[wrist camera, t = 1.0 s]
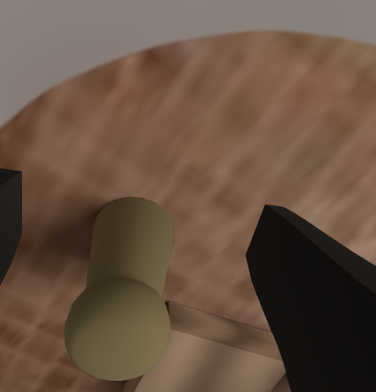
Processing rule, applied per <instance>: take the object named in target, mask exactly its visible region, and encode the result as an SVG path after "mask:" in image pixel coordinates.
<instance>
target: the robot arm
mask: <svg viewBox="0 0 376 392" xmlns="http://www.w3.org/2000/svg"><path fill="white" fill-rule="evenodd" d="M21 234H22V171H16V170H8V169H1V168H0V284H1V282H2V281H3V279H4V277H5V275H6V273H7V271H8V269H9V267H10V265H11V263H12V260H13V257H14V254H15V252H16V249H17V246H18V243H19V240H20V237H21ZM246 259H247V263H248V268H249V272H250V276H251V280H252V283H253V286H254V289H255V291H256V294H257V296H258V299H259V301H260V304H261V307H262V309H263V311H264V314H265V316H266V319H267V321H268V324H269V326H270V329H271V331H272V334H273V336H274V339H275V341H276V344H277V346H278V349H279V352H280V355H281V358H282V361H283V364H284V368H285V371H286V375H287V378H288V382H289V385H290V389H291V392H376V266H375V265H373V264H372V263H370V262H368V261H367V260H365V259H364V258H362V257H360V256H359V255H357V254H356V253H354V252H352V251H351V250H349V249H348V248H346V247H345V246H343V245H342V244H340V243H339V242H337V241H336V240H334V239H333V238H331V237H330V236H328V235H327V234H325V233H324V232H322V231H321V230H319V229H318V228H316V227H315V226H313V225H312V224H311V223H309V222H308V221H306V220H305V219H303V218H302V217H300V216H298V215H297V214H295V213H294V212H292V211H290V210H288V209H286V208H284V207H281V206H274V205H266V204H265V206H264V209H263V211H262V214H261V216H260V219H259V222H258V224H257V227H256V229H255V232H254V235H253V237H252V240H251V242H250V245H249V247H248V250H247V253H246Z"/></svg>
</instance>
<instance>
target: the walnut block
mask: <svg viewBox="0 0 376 392" xmlns="http://www.w3.org/2000/svg"><path fill="white" fill-rule="evenodd" d="M166 308H167V311H168V314H169V317H170V336H169V342H168V345H167V348H166V350H165V352H164V354H163V356H162V357H161V359H160V360H159V361H158V363H157V364H156V365H155V366H154V367H153V368H152V369H150V370H149V371H148V372H147V373H145V374H143V375H141V376H139V377H137V378H133V379H128V380H126V382H125V384H124V387H123V392H271V390H272V389H273V388H274V387H275V385H276V384H277V383H278V382H279V380H280V379H281V378H282V377H283V375H284V374H285V373H286V371H285V368H284V364H283V361H282V358H281V355H280V352H279V349H278V346H277V344H276V341H275V339H274V336H273V334H272V333H271V332H268V331H264V330H261V329H258V328H255V327H251V326H248V325H245V324H242V323H238V322H235V321H232V320H229V319H226V318H222V317H219V316H216V315H213V314H209V313H206V312H203V311H200V310H196V309H193V308H190V307H187V306H183V305H180V304H177V303H174V302H171V301H169V302H168V304H167V306H166Z"/></svg>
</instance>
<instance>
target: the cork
mask: <svg viewBox="0 0 376 392" xmlns="http://www.w3.org/2000/svg"><path fill="white" fill-rule="evenodd" d="M173 239H174V227H173V224H172V220H171V218H170V217H169V215H168V214H167V213H166V211H165V210H164V209H163V208H161V207H160V206H159V205H157V204H156V203H155V202H152V201H149V200H147V199H144V198H136V197H127V198H122V199H118V200H115V201H113V202H112V203H110V204H108V205H106V206H105V207H104V208H103V209H102V210H101V211H100V213H99V214H98V215H97V217H96V220H95V223H94V225H93V233H92V242H91V250H90V259H89V267H88V276H87V284H86V289H85V290H84V291H83V292H82V293H81V294H80V295H79V297H78V298H77V299H76V300H75V302H74V303H73V304H72V307H71V309H70V312H69V314H68V317H67V320H66V322H65V330H64V336H65V347H66V349H67V351H68V353H69V355H70V357H71V359H72V361H73V363H74V364H75V365H76V366H77V367H78V368H79V369H80V370H81V371H83V372H84V373H86V374H88V375H90V376H92V377H94V378H99V379H103V380H107V381H124V380H128V379H133V378H137V377H139V376H141V375H143V374H145V373H147V372H148V371H149V370H150V369H152V368H153V367H154V366H155V365H156V364H157V363H158V361H159V360H160V359H161V357H162V356H163V354H164V352H165V350H166V348H167V345H168V342H169V336H170V317H169V314H168V311H167V308H166V305H165V303H164V300H163V299H162V294H163V289H164V284H165V279H166V274H167V269H168V264H169V259H170V255H171V250H172V245H173Z"/></svg>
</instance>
